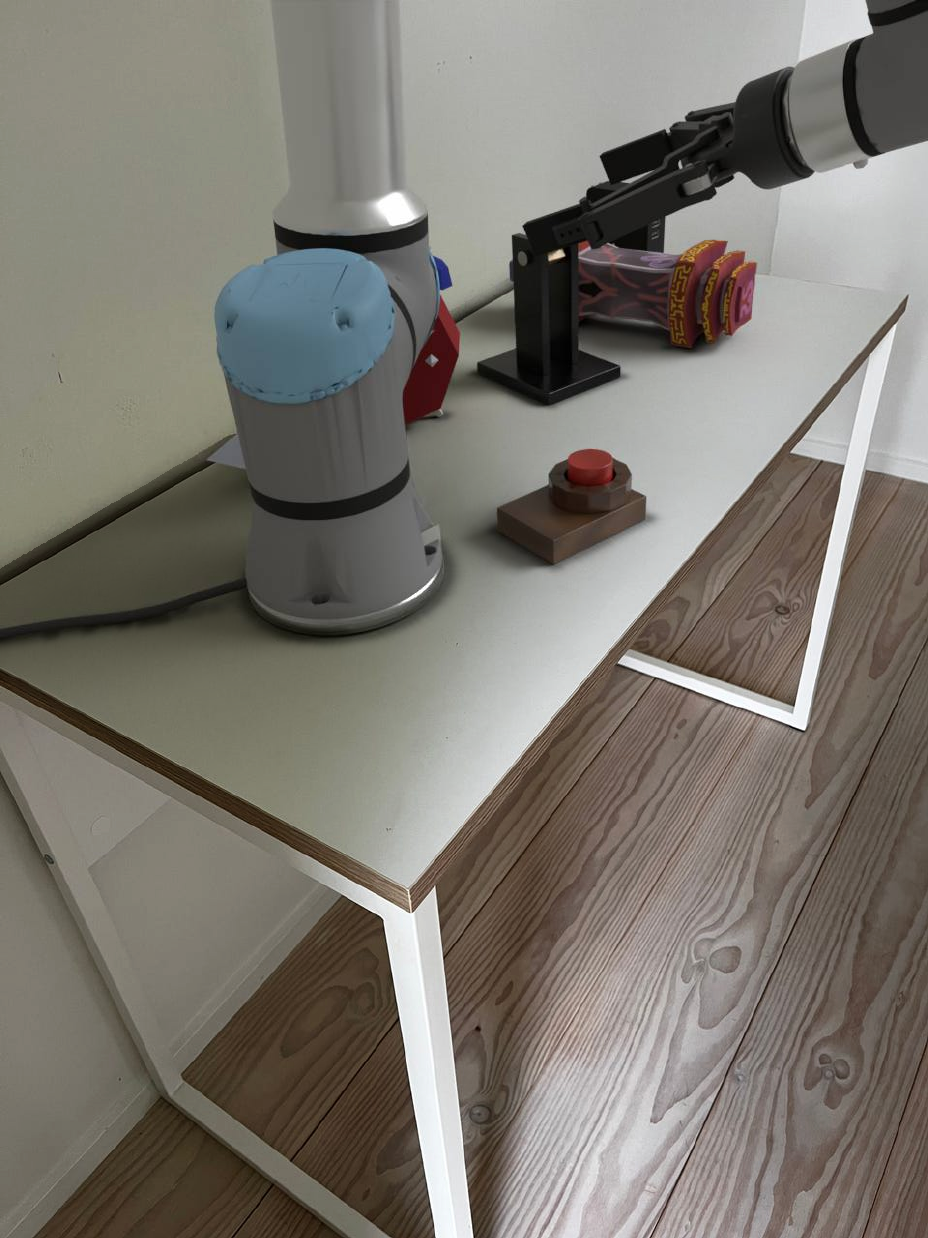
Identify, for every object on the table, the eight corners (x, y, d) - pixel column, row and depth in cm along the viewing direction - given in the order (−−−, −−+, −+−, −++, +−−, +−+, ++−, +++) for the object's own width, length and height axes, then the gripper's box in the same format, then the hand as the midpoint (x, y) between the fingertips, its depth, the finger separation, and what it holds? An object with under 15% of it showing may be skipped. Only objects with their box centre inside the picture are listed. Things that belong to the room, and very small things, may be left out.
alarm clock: (465, 401, 103) (450, 198, 91) (464, 439, 96) (447, 223, 84) (323, 410, 104) (290, 209, 92) (312, 447, 97) (275, 235, 85)
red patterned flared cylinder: (769, 240, 107) (532, 216, 122) (736, 266, 101) (490, 237, 116) (760, 329, 113) (534, 296, 128) (727, 358, 107) (495, 320, 122)
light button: (588, 493, 78) (588, 473, 77) (558, 477, 81) (558, 458, 80) (621, 478, 80) (622, 458, 79) (591, 463, 82) (591, 444, 81)
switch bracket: (620, 377, 105) (624, 232, 96) (549, 405, 101) (546, 256, 92) (546, 348, 113) (543, 212, 104) (477, 373, 109) (468, 233, 100)
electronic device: (645, 274, 132) (648, 195, 126) (585, 263, 137) (585, 186, 132) (663, 266, 134) (667, 187, 128) (603, 255, 140) (604, 179, 134)
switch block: (553, 565, 77) (552, 520, 75) (497, 530, 82) (495, 487, 79) (647, 518, 82) (649, 475, 79) (589, 488, 86) (590, 446, 84)
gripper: (755, 251, 66) (516, 314, 81) (875, 104, 79) (650, 181, 94) (717, 140, 62) (474, 227, 77) (849, 5, 75) (619, 102, 90)
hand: (570, 202), depth 85 cm, fingers open, 13 cm apart
